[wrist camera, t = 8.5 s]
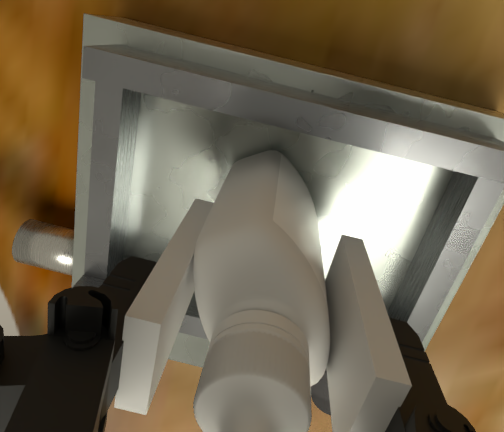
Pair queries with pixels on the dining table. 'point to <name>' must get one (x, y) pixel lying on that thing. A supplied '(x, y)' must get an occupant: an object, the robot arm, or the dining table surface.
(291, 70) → the grey rectangular open box
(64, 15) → the dining table surface
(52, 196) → the dining table surface
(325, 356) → the eye dropper bottle
